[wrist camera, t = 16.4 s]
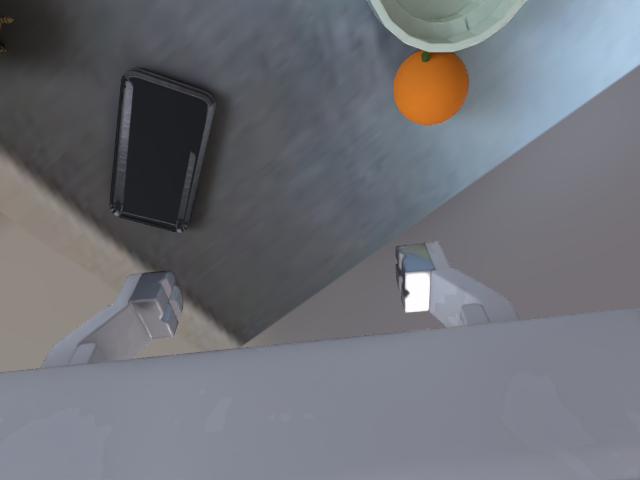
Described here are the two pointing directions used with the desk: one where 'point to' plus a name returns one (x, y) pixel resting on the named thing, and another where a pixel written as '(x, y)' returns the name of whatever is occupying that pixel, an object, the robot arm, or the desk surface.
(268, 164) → the desk surface
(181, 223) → the phone
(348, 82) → the desk surface
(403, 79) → the orange
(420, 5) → the bowl
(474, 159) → the desk surface
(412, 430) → the robot arm
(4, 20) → the game die
